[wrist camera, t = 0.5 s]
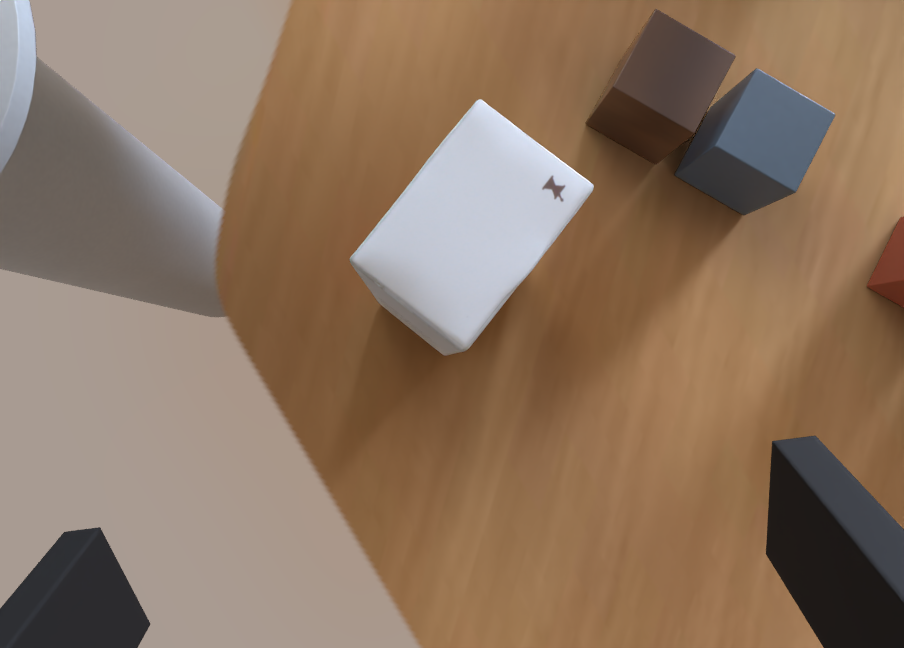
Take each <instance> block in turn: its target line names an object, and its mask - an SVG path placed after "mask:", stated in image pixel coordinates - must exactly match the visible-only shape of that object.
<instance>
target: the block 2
mask: <svg viewBox="0 0 904 648" xmlns="http://www.w3.org/2000/svg"><path fill="white" fill-rule="evenodd" d="M834 117H835V114H834V113H833V112H831V111H829V110H828V109H826V108H824V107H822V106H821V105H819V104H817V103H816V102H814V101H812V100H810V99H809V98H807V97H805V96H804V95H802V94H800V93H799V92H797V91H795V90H793V89H792V88H790V87H788V86H787V85H785V84H783V83H781V82H780V81H778V80H776V79H775V78H773V77H771V76H770V75H768V74H766V73H764V72H763V71H761V70H759V69H757V68H756V69H755V70H754V71H753V72H751V73H750V74H749V75H748V76H747V77H746V78H744V79H743V80H742V81H741V82H740V83H738V84H737V85H736V86H735V87H734V88H733V89H731V90H730V91H729V92H728V93H727V94H726V95H724V96H723V97H722V98H721V99H720V100H719V101H717V102H716V103H715V104H714V105H713V106H712V107H710V109H709V111H708V113H707V115H706V117H705V118H704V120H703V122H702V124H701V126H700V128H699V130H698V132H697V133H696V135H695V137H694V139H693V141H692V143H691V145H690V147H689V148H688V150H687V152H686V154H685V156H684V158H683V160H682V161H681V163H680V165H679V167H678V169H677V171H676V173H675V176H676V177H678V178H680V179H682V180H683V181H685V182H687V183H689V184H690V185H692V186H694V187H696V188H697V189H699V190H701V191H702V192H704V193H706V194H708V195H709V196H711V197H713V198H715V199H716V200H718V201H720V202H721V203H723V204H725V205H727V206H728V207H730V208H732V209H734V210H735V211H737V212H739V213H741V214H742V215H746V214H748V213H751V212H753V211H755V210H757V209H760V208H762V207H764V206H766V205H769V204H771V203H773V202H775V201H778V200H780V199H782V198H784V197H787V196H789V195H791V194H793V193H795V192H796V191H797V189H798V187H799V185H800V183H801V181H802V179H803V177H804V175H805V173H806V171H807V169H808V167H809V165H810V164H811V162H812V160H813V158H814V156H815V154H816V152H817V150H818V148H819V146H820V144H821V142H822V140H823V138H824V136H825V134H826V132H827V130H828V128H829V126H830V124H831V123H832V121H833V119H834Z"/></svg>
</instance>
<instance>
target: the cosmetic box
mask: <svg viewBox="0 0 904 648" xmlns="http://www.w3.org/2000/svg"><path fill="white" fill-rule="evenodd" d="M592 191H593V184H592V183H591V182H589V181H588V180H587V179H585V178H584V177H583V176H581V175H580V174H579V173H577V172H576V171H575V170H573V169H572V168H570V167H569V166H568V165H566V164H565V163H564V162H562V161H561V160H560V159H558V158H557V157H556V156H554V155H553V154H552V153H550V152H549V151H548V150H546V149H545V148H544V147H543V146H541V145H540V144H539V143H537V142H536V141H535V140H533V139H532V138H531V137H529V136H528V135H527V134H525V133H524V132H523V131H521V130H520V129H519V128H518V127H516V126H515V125H514V124H513V123H511V122H510V121H509V120H507V119H506V118H505V117H503V116H502V115H501V114H499V113H498V112H497V111H495V110H494V109H493V108H491V107H490V106H489V105H488V104H486V103H485V102H484V101H482V100H477V101H476V102H475V103H474V105H473V106H472V107H471V108H470V109H469V111H468V112H467V113H466V114H465V115H464V117H463V118H462V119H461V120H460V121H459V123H458V124H457V125H456V126H455V127H454V128H453V130H452V131H451V132H450V133H449V134H448V135H447V137H446V138H445V139H444V140H443V141H442V143H441V144H440V145H439V146H438V148H437V149H436V150H435V151H434V153H433V154H432V155H431V156H430V158H429V159H428V160H427V162H426V163H425V164H424V166H423V167H422V168H421V169H420V171H419V172H418V173H417V175H416V176H415V177H414V179H413V180H412V181H411V183H410V184H409V185H408V186H407V188H406V189H405V190H404V192H403V193H402V194H401V195H400V197H399V198H398V199H397V200H396V202H395V203H394V204H393V205H392V207H391V208H390V209H389V210H388V212H387V213H386V214H385V215H384V217H383V218H382V219H381V220H380V222H379V223H378V224H377V225H376V227H375V228H374V229H373V230H372V232H371V233H370V234H369V235H368V237H367V238H366V239H365V240H364V242H363V243H362V244H361V245H360V247H359V248H358V249H357V250H356V252H355V253H354V254H353V255H352V256H351V258H350V263H351V265H352V266H353V267H354V269H355V270H356V272H357V273H358V274H359V276H360V277H361V279H362V280H363V281H364V283H365V284H366V285H367V287H368V288H369V290H370V291H371V293H372V294H373V295H374V297H375V298H376V300H377V301H378V303H379V304H380V305H382V306H383V307H384V308H385V309H387V310H388V311H389V312H390V313H391V314H393V315H394V316H395V317H396V318H398V319H399V320H400V321H401V322H402V323H404V324H405V325H406V326H407V327H409V328H410V329H411V330H412V331H414V332H415V333H416V334H417V335H419V336H420V337H421V338H422V339H424V340H425V341H426V342H427V343H429V344H430V345H431V346H432V347H434V348H435V349H436V350H437V351H439V352H440V353H441V354H443V355H445V356H446V355H450V354H455V353H458V352H464V351H466V350H467V349H468V348H470V346H471V345H472V344H473V343H474V341H475V340H476V339H477V337H478V336H479V335H480V334H481V332H482V331H483V330H484V329H485V327H486V326H487V325H488V324H489V322H490V321H491V320H492V318H493V317H494V316H495V315H496V313H497V312H498V311H499V310H500V308H501V307H502V306H503V304H504V303H505V302H506V301H507V299H508V298H509V297H510V296H511V294H512V293H513V292H514V291H515V289H516V288H517V287H518V286H519V284H520V283H521V282H522V281H523V280H524V279H525V278H526V277H527V276H528V275H529V273H530V272H531V271H532V270H533V269H534V267H535V266H536V265H537V263H538V262H539V260H540V259H541V257H542V256H543V255H544V254H545V252H546V251H547V250H548V249H549V247H550V246H551V245H552V244H553V242H554V241H555V240H556V238H557V237H558V236H559V234H560V233H561V232H562V230H563V229H564V228H565V227H566V225H567V224H568V223H569V221H570V220H571V219H572V218H573V216H574V215H575V214H576V213H577V211H578V210H579V209H580V207H581V206H582V205H583V203H584V202H585V201H586V199H587V198H588V197H589V195H590V194H591V192H592Z"/></svg>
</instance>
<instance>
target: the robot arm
mask: <svg viewBox="0 0 904 648" xmlns="http://www.w3.org/2000/svg"><path fill="white" fill-rule="evenodd" d="M766 555H767V556H768V558H769V560H770V561H771V563H772V565H773V566H774V568H775V569H776V571H777V573H778V574H779V576H780V577H781V579H782V581H783V582H784V584H785V586H786V587H787V589H788V590H789V592H790V594H791V595H792V597H793V599H794V600H795V602H796V603H797V605H798V607H799V608H800V610H801V611H802V613H803V615H804V616H805V618H806V620H807V621H808V623H809V624H810V626H811V628H812V629H813V631H814V633H815V634H816V636H817V637H818V639H819V641H820V642H821V644H822V646H823V647H824V648H904V529H903V528H902V527H901V526H900V525H899V524H898V523H897V522H896V521H895V520H894V519H893V518H892V517H891V515H890V514H889V513H888V512H887V511H886V510H885V509H884V508H883V507H882V506H881V505H880V504H879V503H878V502H877V501H876V500H875V498H874V497H873V496H872V495H871V494H870V493H869V492H868V491H867V490H866V489H865V488H864V487H863V486H862V485H861V484H860V483H859V482H858V480H857V479H856V478H855V477H854V476H853V475H852V474H851V473H850V472H849V471H848V470H847V469H846V468H845V467H844V466H843V465H842V463H841V462H840V461H839V460H838V459H837V458H836V457H835V456H834V455H833V454H832V453H831V452H830V451H829V450H828V449H827V448H826V446H825V445H824V444H823V443H822V442H821V441H820V440H819V439H818V438H817V437H816V436H809V437H801V438H794V439H786V440H778V441H772V454H771V472H770V490H769V508H768V526H767V544H766ZM149 626H150V622H149V620H148V619H147V617H146V615H145V613H144V611H143V609H142V607H141V606H140V603H139V601H138V599H137V597H136V596H135V594H134V592H133V590H132V588H131V586H130V584H129V582H128V580H127V578H126V576H125V575H124V573H123V571H122V569H121V567H120V565H119V563H118V561H117V559H116V557H115V555H114V553H113V552H112V550H111V548H110V546H109V544H108V542H107V540H106V538H105V536H104V534H103V532H102V530H101V528H92V529H84V530H76V531H68V532H64V533H63V534H62V535H61V537H60V538H59V539H58V540H57V541H56V543H55V544H54V545H53V546H52V547H51V549H50V550H49V551H48V552H47V553H46V555H45V556H44V557H43V558H42V559H41V561H40V562H39V563H38V564H37V566H36V567H35V568H34V569H33V570H32V571H31V573H30V574H29V575H28V576H27V577H26V579H25V580H24V581H23V582H22V583H21V584H20V586H19V587H18V588H17V589H16V591H15V592H14V593H13V594H12V596H11V597H10V598H9V599H8V600H7V601H6V603H5V604H4V605H3V606H2V607H1V608H0V648H137V647H138V645H139V644H140V642H141V640H142V638H143V637H144V635H145V633H146V631H147V629H148V627H149Z"/></svg>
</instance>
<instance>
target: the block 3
mask: <svg viewBox="0 0 904 648" xmlns="http://www.w3.org/2000/svg"><path fill="white" fill-rule="evenodd" d="M867 287H868V288H870V289H872V290H874V291H875V292H877V293H879V294H880V295H882V296H884V297H886V298H887V299H889V300H891V301H893V302H894V303H896V304H898V305H900V306H901V307H903V308H904V217H901V218H900V219H899V221H898V223H897V225H896V227H895V229H894V231H893V233H892V235H891V237H890V240H889V242H888V244H887V246H886V248H885V250H884V252H883V254H882V256H881V258H880V260H879V262H878V264H877V266H876V268H875V270H874V272H873V274H872V276H871V278H870V280H869V282H868V284H867Z"/></svg>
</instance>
